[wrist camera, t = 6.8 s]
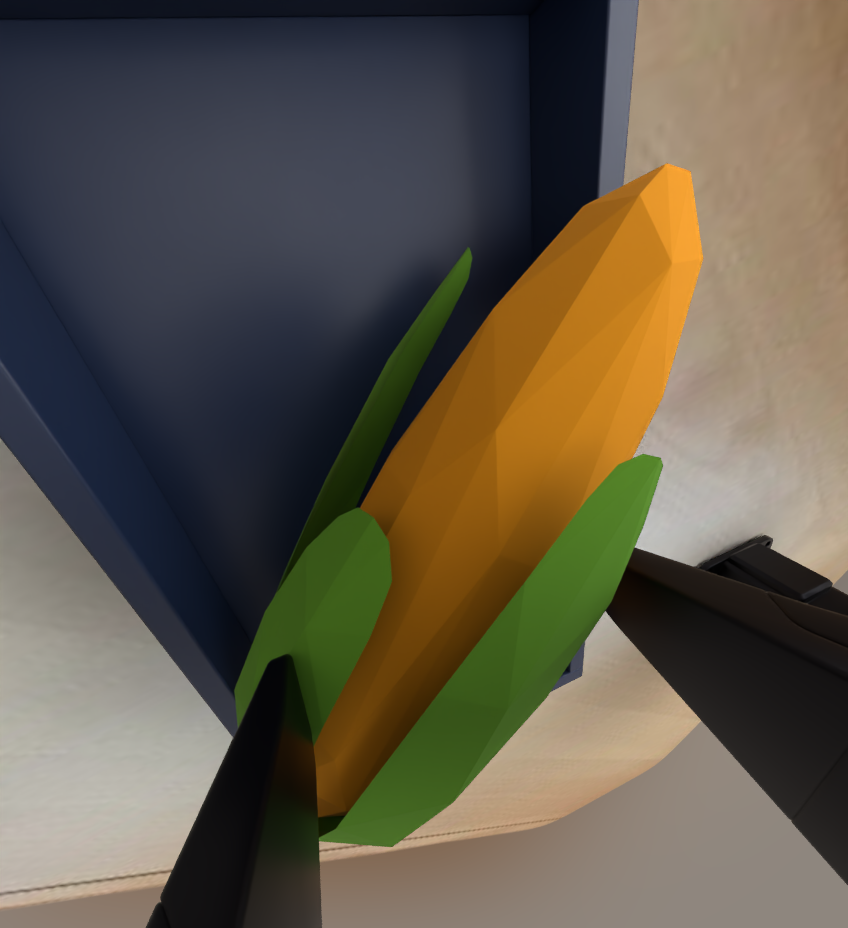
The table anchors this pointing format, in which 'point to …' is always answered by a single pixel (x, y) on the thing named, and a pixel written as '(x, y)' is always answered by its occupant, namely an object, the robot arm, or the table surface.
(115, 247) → the tray
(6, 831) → the table surface
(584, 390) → the corn
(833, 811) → the robot arm
